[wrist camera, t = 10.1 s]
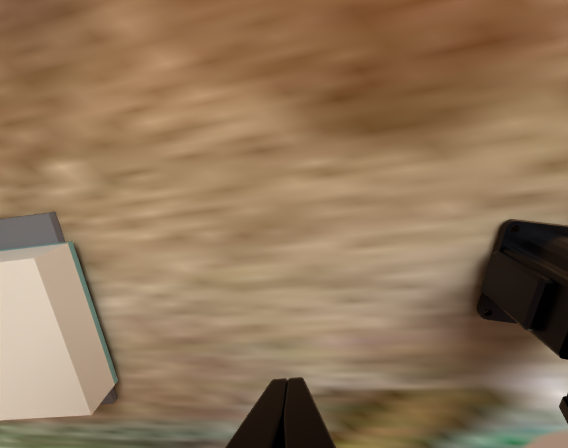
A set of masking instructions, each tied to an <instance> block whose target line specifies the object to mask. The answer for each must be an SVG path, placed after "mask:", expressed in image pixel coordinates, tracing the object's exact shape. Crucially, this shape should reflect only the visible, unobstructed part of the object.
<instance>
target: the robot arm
mask: <svg viewBox="0 0 568 448" xmlns="http://www.w3.org/2000/svg"><path fill="white" fill-rule="evenodd" d="M514 225H515V229H514V230H513V231H510V229H511V227H512V226H514ZM487 309H489V310H488V312H486V313H484V311H485V310H487ZM477 313H478V314H479V315H480V316H481V317H482V318H483V319H486V320H494V321H502V322H510V323H517V324H519V325H520V326H522V327H523V328H524V329H526V330H529V331H530V332H531V333H532V334H533V335H535V336H536V337H537V338H538V339H539V340H540V341H542V342H543V343H544V344H545V345H546V346H547V347H548V348H550V349H551V350H552V351H553V352H554V353H555V354H557V355H558V356H559V357H560V358H562V359H566V360H568V226H567V225H558V224H550V223H541V222H533V221H524V220H515V219H510V220H507V221H506V222H505V223H504V224H503V226H502V228H501V232H500V235H499V238H498V241H497V245H496V248H495V251H494V253H493V254H492V256H491V259H490V263H489V266H488V269H487V272H486V276H485V279H484V282H483V286H482V293H481V297H480V300H479V303H478V306H477ZM559 408H560V410H561V412H562V414H563V416H564V418H565V420H566V421H567V423H568V394H567V396H564V397H563V398H562V400H561V403H560V405H559ZM225 448H336V446H335V444H334V442H333V440H332V438H331V436H330V434H329V432H328V429H327V427H326V425H325V423H324V421H323V419H322V417H321V415H320V412H319V410H318V408H317V406H316V404H315V402H314V400H313V398H312V395H311V393H310V391H309V389H308V387H307V385H306V383H305V381H304V379H303V378H302V377H298V378H289V379H288V380H287V379H286V378H283V379H273V380H272V381H271V382H270V384H269V385H268V387H267V388H266V389H265V391H264V392H263V394H262V395H261V397H260V398H259V400H258V401H257V402H256V404H255V405H254V407H253V408H252V410H251V411H250V413H249V414H248V415H247V417H246V418H245V420H244V421H243V423H242V424H241V426H240V427H239V429H238V430H237V431H236V433H235V434H234V436H233V437H232V439H231V440H230V442H229V443H228V444H227V446H226V447H225Z"/></svg>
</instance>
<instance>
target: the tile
mask: <svg viewBox="0 0 568 448" xmlns="http://www.w3.org/2000/svg"><path fill="white" fill-rule="evenodd" d="M117 381H118V379H117V376H116V373H115V370H114V367H113V364H112V361H111V358H110V355H109V352H108V349H107V345H106V342H105V339H104V336H103V333H102V330H101V327H100V324H99V321H98V318H97V315H96V312H95V309H94V306H93V303H92V300H91V297H90V294H89V291H88V288H87V284H86V281H85V278H84V275H83V272H82V269H81V266H80V263H79V260H78V257H77V254H76V251H75V248H74V245H73V242H72V241H71V242H62V243H54V244H45V245H37V246H29V247H20V248H12V249H3V250H0V420H13V419H31V418H48V417H66V416H84V415H92V414H93V412H94V411H95V410H96V408H97V407H98V406H99V405H100V403H101V402H102V401H103V399H104V398H105V397H106V396H107V394H108V393H109V392H110V390H111V389H112V388H113V387H114V385H115V384H116V383H117Z"/></svg>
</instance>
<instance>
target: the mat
mask: <svg viewBox="0 0 568 448" xmlns="http://www.w3.org/2000/svg"><path fill="white" fill-rule="evenodd" d="M62 242H65V240H64V237H63V234H62V231H61V228H60V225H59V223H58V220H57V217H56V214H55V212H50V213H42V214H34V215H27V216H19V217H11V218H4V219H0V250H3V249H12V248H20V247H29V246H37V245H45V244H54V243H62ZM116 399H117V396H116V393H115V390H114V387H113V388H112V389H111V390H110V392H109V393H108V394H107V396H106V397H105V398H104V399H103V401H102V402H101V403H100V404H111V403H114V402H115V400H116Z"/></svg>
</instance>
